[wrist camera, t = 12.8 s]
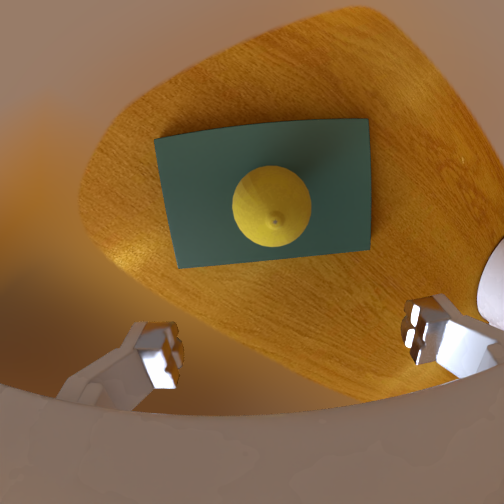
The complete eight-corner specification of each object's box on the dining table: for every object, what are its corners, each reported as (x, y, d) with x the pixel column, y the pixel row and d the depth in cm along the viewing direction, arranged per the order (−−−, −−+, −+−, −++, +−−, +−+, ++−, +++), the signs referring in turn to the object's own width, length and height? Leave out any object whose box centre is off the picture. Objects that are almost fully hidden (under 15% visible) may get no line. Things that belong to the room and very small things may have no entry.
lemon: (280, 147, 24) (293, 157, 16) (313, 204, 25) (337, 237, 18) (222, 182, 25) (209, 207, 17) (257, 235, 27) (259, 280, 19)
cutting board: (362, 118, 24) (368, 118, 22) (365, 244, 29) (370, 250, 27) (158, 138, 25) (153, 139, 23) (181, 262, 29) (178, 269, 28)
